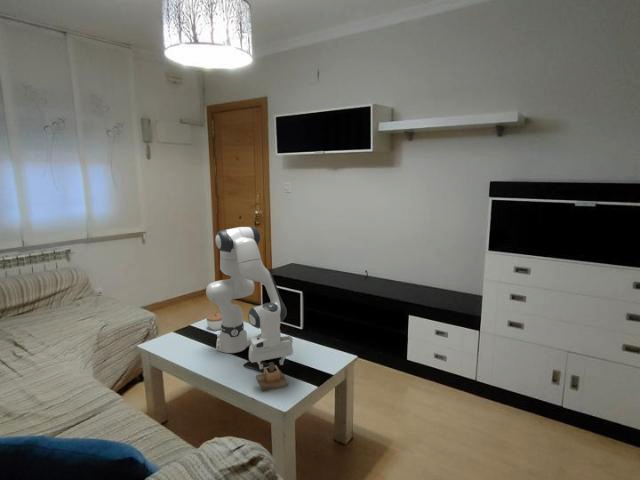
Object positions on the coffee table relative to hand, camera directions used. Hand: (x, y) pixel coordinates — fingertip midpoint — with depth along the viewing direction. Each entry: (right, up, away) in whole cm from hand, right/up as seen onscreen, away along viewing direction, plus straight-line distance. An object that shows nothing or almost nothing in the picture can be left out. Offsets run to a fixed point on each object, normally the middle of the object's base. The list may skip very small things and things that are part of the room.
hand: (271, 366), depth 181 cm
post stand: (0, -8, +1) cm, 8 cm away
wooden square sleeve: (0, -6, +1) cm, 6 cm away
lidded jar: (-41, +4, +61) cm, 73 cm away
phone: (-8, -5, +15) cm, 18 cm away
